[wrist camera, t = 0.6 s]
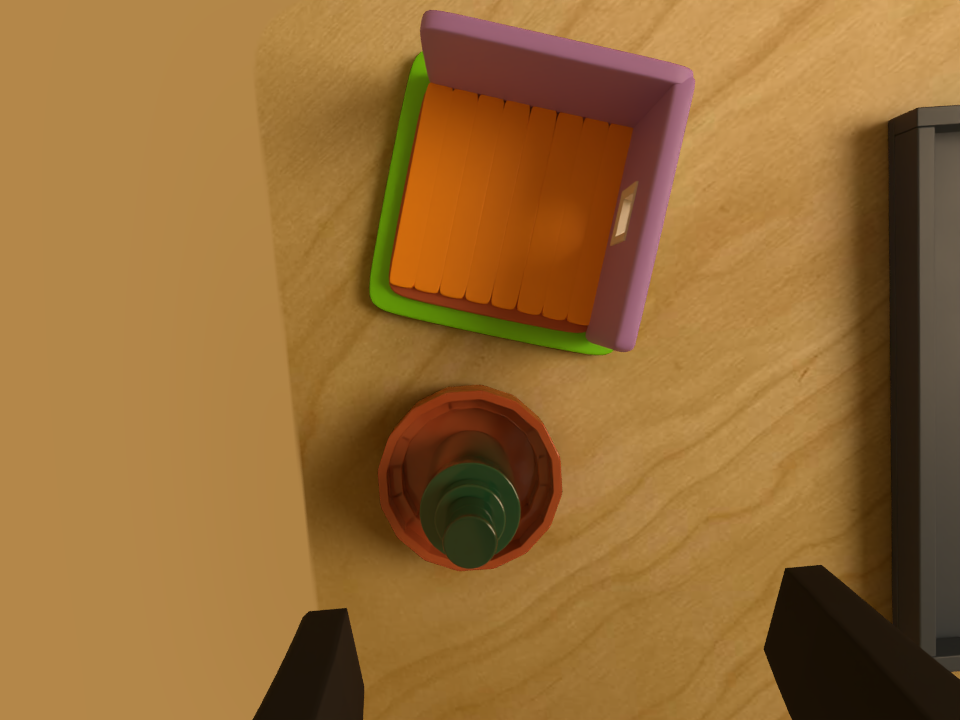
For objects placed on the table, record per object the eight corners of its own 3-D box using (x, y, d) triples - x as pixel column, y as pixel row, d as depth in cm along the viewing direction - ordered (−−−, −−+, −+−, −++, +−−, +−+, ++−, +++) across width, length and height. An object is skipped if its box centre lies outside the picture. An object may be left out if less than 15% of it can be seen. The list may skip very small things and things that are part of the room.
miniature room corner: (674, 104, 28) (738, 40, 22) (615, 361, 29) (658, 378, 23) (414, 46, 28) (396, -37, 21) (364, 308, 29) (331, 309, 22)
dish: (558, 542, 30) (566, 563, 28) (393, 554, 30) (386, 576, 28) (549, 378, 29) (556, 385, 27) (379, 390, 29) (371, 398, 27)
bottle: (513, 506, 29) (531, 595, 20) (433, 512, 29) (416, 603, 20) (508, 427, 29) (524, 482, 20) (426, 432, 29) (407, 490, 20)
